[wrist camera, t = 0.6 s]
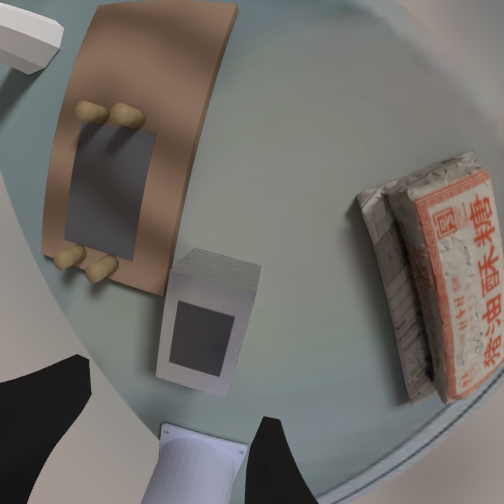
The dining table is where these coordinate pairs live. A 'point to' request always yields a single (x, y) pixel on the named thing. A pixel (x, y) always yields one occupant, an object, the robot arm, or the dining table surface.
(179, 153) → the walnut tray
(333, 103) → the dining table surface
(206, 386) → the block
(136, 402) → the dining table surface
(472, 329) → the packaged product
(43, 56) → the salt shaker
